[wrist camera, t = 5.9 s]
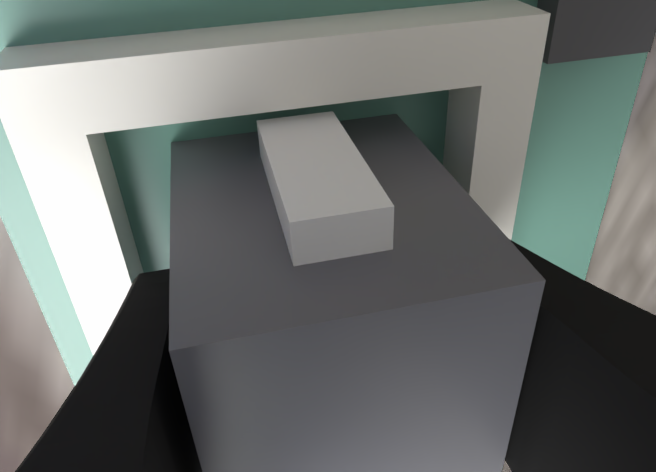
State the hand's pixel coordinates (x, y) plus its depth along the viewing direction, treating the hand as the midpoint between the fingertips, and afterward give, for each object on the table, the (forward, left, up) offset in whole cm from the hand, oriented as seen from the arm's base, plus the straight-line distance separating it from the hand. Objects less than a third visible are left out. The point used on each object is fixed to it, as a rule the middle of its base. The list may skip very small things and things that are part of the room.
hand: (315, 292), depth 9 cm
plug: (0, 0, -2) cm, 2 cm away
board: (0, -1, -3) cm, 3 cm away
